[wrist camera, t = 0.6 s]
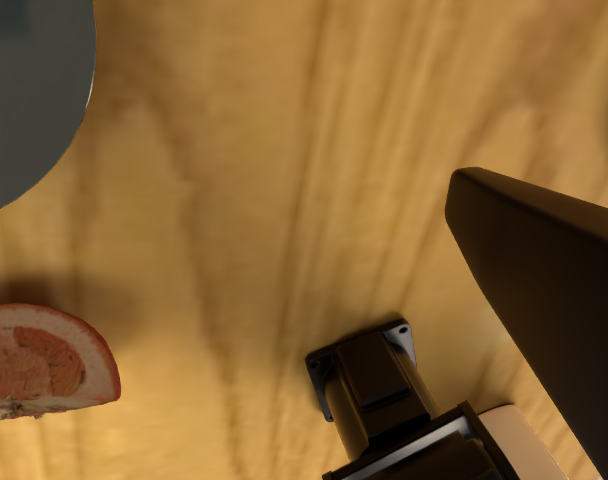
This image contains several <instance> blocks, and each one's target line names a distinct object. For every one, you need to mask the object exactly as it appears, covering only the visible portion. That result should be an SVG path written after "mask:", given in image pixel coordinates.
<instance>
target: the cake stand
mask: <svg viewBox="0 0 608 480" xmlns="http://www.w3.org/2000/svg"><path fill="white" fill-rule="evenodd" d="M96 47H97V22H96V13H95V4H94V0H0V209H1V208H2V207H4V206H6V205H8V204H9V203H11V202H13V201H15V200H16V199H18V198H19V197H20V196H22V195H23V194H24V193H26V192H27V191H28V190H30V189H31V188H32V187H34V186H35V185H36V184H37V183H39V181H40V180H41V179H42V178H43V177H44V176H45V175H46V174H47V173H48V172H49V171H50V170H51V169H52V168H53V167H54V166H55V165H56V164H57V162H58V161H59V160H60V158H61V157H62V155H63V154H64V153H65V151H66V150H67V149H68V147H69V146H70V144H71V143H72V141H73V139H74V137H75V135H76V133H77V131H78V129H79V127H80V125H81V123H82V121H83V118H84V115H85V112H86V109H87V106H88V103H89V100H90V97H91V93H92V87H93V81H94V75H95V69H96Z"/></svg>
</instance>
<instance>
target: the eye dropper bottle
mask: <svg viewBox="0 0 608 480" xmlns="http://www.w3.org/2000/svg"><path fill="white" fill-rule="evenodd" d="M478 417H479V419H480V420H481V421H482V423H483V424H484V426H485V427H486V429H487V430H488V431H489V433H490V434H491V436H492V437H493V438H494V440H495V441H496V443H497V444H498V446H499V447H500V448H501V450H502V451H503V453H504V454H505V456H506V457H507V459H508V460H509V462H510V463H511V465H512V467H513V468H514V470H515V471H516V473H517V475H518V476H519V478H520V480H569V478H568V477H567V475H566V474H565V472H564V471H563V469H562V468H561V467H560V465H559V464H558V462H557V461H556V460H555V458H554V457H553V455H552V454H551V453H550V451H549V450H548V448H547V447H546V446H545V444H544V443H543V441H542V440H541V439H540V437H539V436H538V434H537V433H536V432H535V430H534V429H533V428H532V426H531V425H530V423H529V422H528V421H527V419H526V418H525V416H524V415H523V414H522V412H521V411H520V410H519V409H518V408H517V407H516V406H514V405H506V406H502V407H498V408H495V409H492V410H490V411H487V412H485V413H483V414H481V415H479V416H478Z"/></svg>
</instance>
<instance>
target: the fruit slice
mask: <svg viewBox="0 0 608 480" xmlns="http://www.w3.org/2000/svg"><path fill="white" fill-rule="evenodd" d="M120 396H121V384H120V377H119V372H118V368H117V364H116V362H115V360H114V357H113V354H112V353H111V350H110V349H109V347H108V345H107V343H106V341H105V340H104V338H103V337H102V336H101V335H100V334H99V333H98V332H97V331H96V330H95V329H94V328H93V327H92V326H90V325H89V324H88V323H86V322H85V321H83V320H82V319H80V318H78V317H76V316H73V315H71V314H69V313H66V312H63V311H60V310H57V309H54V308H50V307H46V306H41V305H33V304H24V303H9V304H3V305H0V420H4V419H15V418H19V417H23V416H30V417H31V416H34V417H35V419H38V418H41V417H42V415H43V414H44V413H62V412H66V411H68V410H76V409H81V408H86V407H91V406H96V405H103V404H106V403H108V402H113V401H117V400H118V399H119V398H120Z"/></svg>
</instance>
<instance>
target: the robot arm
mask: <svg viewBox="0 0 608 480" xmlns="http://www.w3.org/2000/svg"><path fill="white" fill-rule="evenodd" d="M445 218H446V222H447V224H448V226H449V228H450V230H451V232H452V234H453V236H454V238H455V240H456V242H457V244H458V246H459V248H460V250H461V252H462V254H463V256H464V258H465V260H466V262H467V264H468V266H469V268H470V270H471V272H472V274H473V276H474V278H475V280H476V282H477V284H478V286H479V287H480V289H481V291H482V292H483V294H484V296H485V297H486V299H487V300H488V302H489V303H490V305H491V307H492V308H493V310H494V311H495V313H496V314H497V316H498V317H499V319H500V320H501V322H502V324H503V325H504V327H505V328H506V330H507V331H508V333H509V334H510V336H511V337H512V339H513V341H514V342H515V344H516V345H517V347H518V348H519V350H520V351H521V353H522V354H523V356H524V358H525V359H526V361H527V362H528V364H529V365H530V367H531V368H532V370H533V371H534V373H535V375H536V376H537V378H538V379H539V381H540V382H541V384H542V385H543V387H544V388H545V390H546V392H547V393H548V395H549V396H550V398H551V399H552V401H553V402H554V404H555V405H556V407H557V409H558V410H559V412H560V413H561V415H562V416H563V418H564V419H565V421H566V422H567V424H568V426H569V427H570V429H571V430H572V432H573V433H574V435H575V436H576V438H577V439H578V441H579V443H580V444H581V446H582V447H583V449H584V450H585V452H586V453H587V455H588V456H589V458H590V460H591V461H592V463H593V464H594V466H595V467H596V469H597V470H598V472H599V473H600V475H601V477H602V478H603V480H608V208H605V207H602V206H599V205H596V204H592V203H589V202H586V201H583V200H580V199H577V198H574V197H571V196H567V195H564V194H561V193H558V192H555V191H552V190H549V189H546V188H542V187H539V186H536V185H533V184H530V183H527V182H524V181H520V180H517V179H514V178H511V177H508V176H505V175H502V174H499V173H495V172H492V171H489V170H486V169H483V168H480V167H468V168H461V169H457V170H455V171H454V172H453V173H452V175H451V179H450V184H449V189H448V194H447V200H446V205H445ZM305 364H306V367H307V370H308V373H309V375H310V378H311V381H312V384H313V386H314V389H315V392H316V395H317V397H318V400H319V403H320V406H321V409H322V411H323V414H324V417H325V419H326V421H328V422H333V421H334V422H335V425H336V427H337V430H338V432H339V435H340V437H341V440H342V442H343V445H344V448H345V450H346V453H347V455H348V458H349V460H350V463H348V464H346V465H344V466H342V467H341V468H339V469H337V470H335V471H333V472H332V471H329V472H327V473H325V474H323V475H322V479H323V480H520V478H519V476H518V475H517V473H516V471H515V470H514V468H513V467H512V465H511V463H510V462H509V460H508V459H507V457H506V456H505V454H504V453H503V451H502V450H501V448H500V447H499V446H498V444H497V443H496V441H495V440H494V438H493V437H492V436H491V434H490V433H489V431H488V430H487V429H486V427H485V426H484V424H483V423H482V421H481V420H480V419H479V417H478V416H477V414H476V413H475V411H474V410H473V409H472V407H471V406H470V404H469V403H468V402H467V400H464V401H462V402H461V403H459V404H457V405H458V406H457V407H455V408H453V409H451V410H449V411H447V412H445V413H442V412H441V410H440V408H439V407H438V405H437V403H436V401H435V400H434V398H433V396H432V395H431V393H430V391H429V389H428V388H427V386H426V384H425V383H424V381H423V379H422V377H421V376H420V374H419V372H418V370H417V364H416V358H415V351H414V345H413V338H412V332H411V327H410V325H409V323H408V322H407V321H406V320H403V319H402V320H398V321H396V322H393V323H391V324H388V325H385V326H383V327H380V328H378V329H375V330H373V331H370V332H368V333H365V334H362V335H360V336H357V337H355V338H352V339H350V340H347V341H344V342H342V343H339V344H337V345H334V346H332V347H329V348H326V349H324V350H321V351H319V352H316V353H314V354H311V355H309V356H308V357H307V358H306V359H305Z"/></svg>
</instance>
